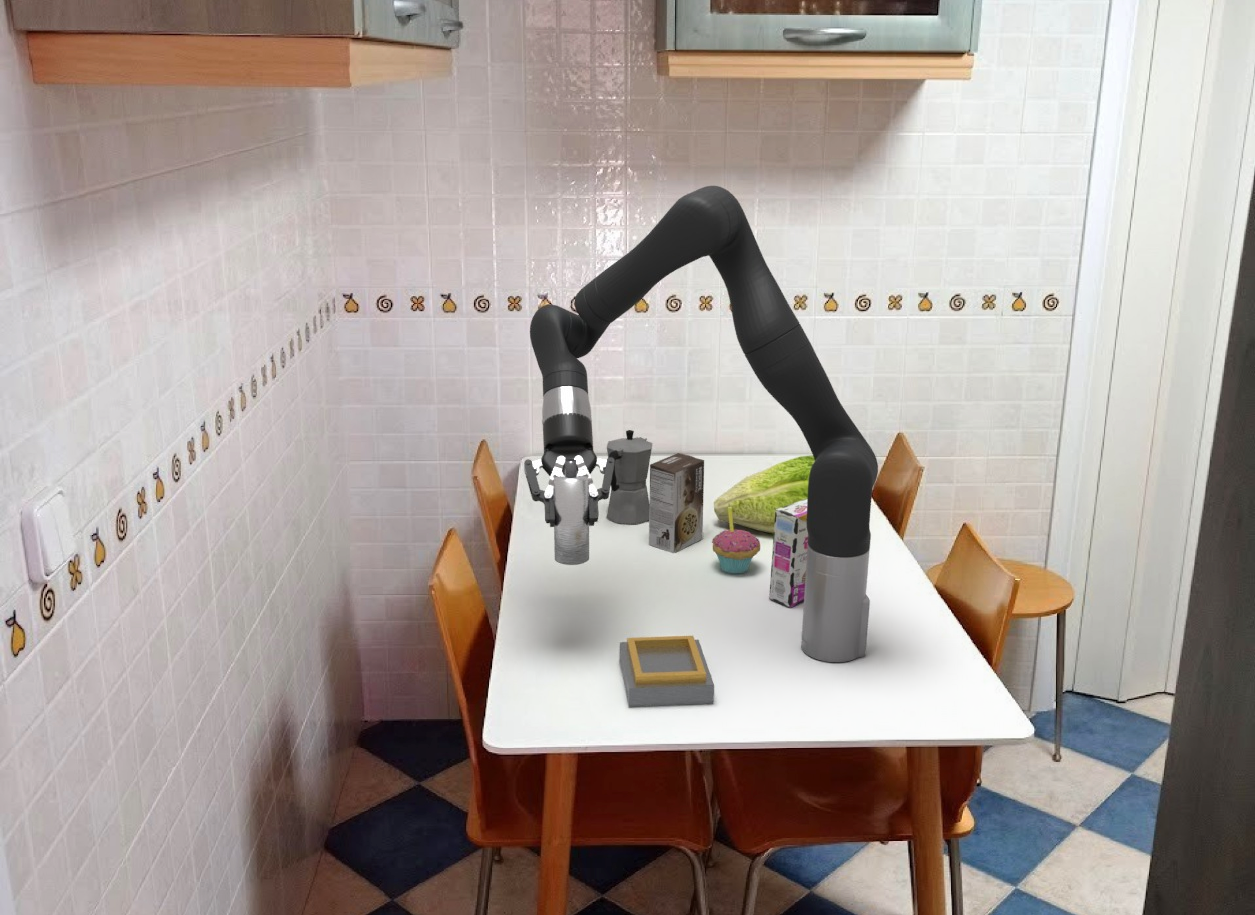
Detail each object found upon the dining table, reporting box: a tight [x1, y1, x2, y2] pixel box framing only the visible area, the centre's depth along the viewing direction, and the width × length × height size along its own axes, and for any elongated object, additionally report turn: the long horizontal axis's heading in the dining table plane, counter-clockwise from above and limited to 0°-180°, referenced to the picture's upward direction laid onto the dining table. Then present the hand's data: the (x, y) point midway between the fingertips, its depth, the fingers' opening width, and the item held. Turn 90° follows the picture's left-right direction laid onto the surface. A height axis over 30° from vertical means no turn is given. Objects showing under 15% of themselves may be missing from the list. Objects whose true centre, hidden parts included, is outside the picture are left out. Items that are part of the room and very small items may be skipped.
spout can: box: [553, 459, 590, 566], centre depth 178 cm, size 5×5×15 cm
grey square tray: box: [618, 635, 715, 708], centre depth 175 cm, size 12×14×4 cm
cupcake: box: [711, 503, 761, 575], centre depth 214 cm, size 9×8×12 cm
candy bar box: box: [768, 498, 808, 608], centre depth 203 cm, size 11×5×16 cm, turn 134°
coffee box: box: [648, 452, 705, 554], centre depth 224 cm, size 9×6×16 cm
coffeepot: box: [606, 429, 653, 526], centre depth 236 cm, size 15×9×18 cm, turn 153°
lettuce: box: [713, 454, 815, 535], centre depth 234 cm, size 15×24×16 cm
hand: (572, 523), depth 177 cm, fingers closed on spout can, 5 cm apart
